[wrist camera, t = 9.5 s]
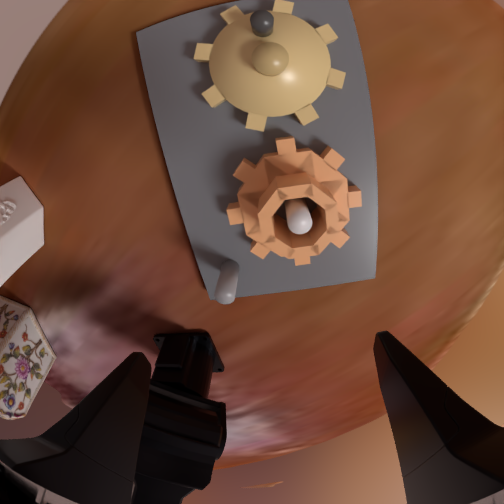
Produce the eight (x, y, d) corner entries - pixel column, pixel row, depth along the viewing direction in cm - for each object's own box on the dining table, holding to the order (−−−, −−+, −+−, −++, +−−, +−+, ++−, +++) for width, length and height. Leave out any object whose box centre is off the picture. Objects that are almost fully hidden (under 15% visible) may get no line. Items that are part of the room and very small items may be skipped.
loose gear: (357, 247, 20) (372, 276, 17) (243, 263, 21) (239, 294, 18) (350, 129, 15) (370, 137, 12) (215, 149, 17) (203, 160, 14)
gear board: (371, 271, 22) (388, 305, 18) (212, 292, 24) (202, 329, 20) (342, -3, 11) (361, -26, 7) (141, 34, 13) (110, 22, 9)
